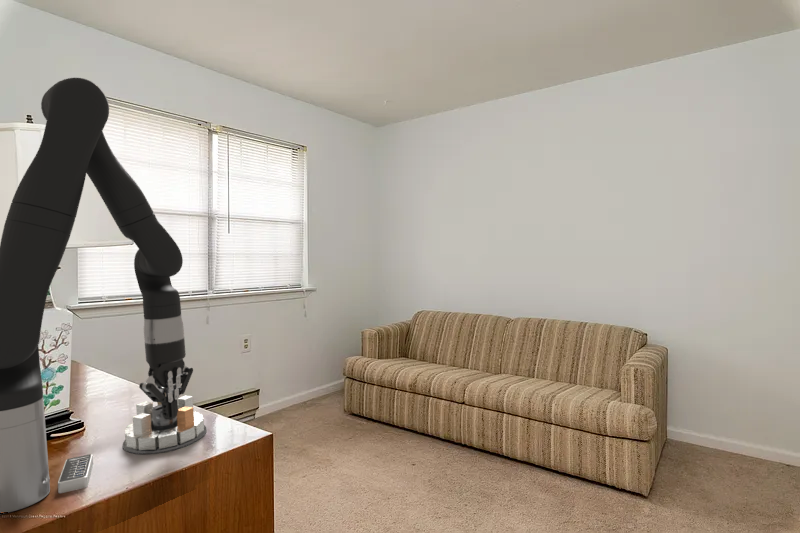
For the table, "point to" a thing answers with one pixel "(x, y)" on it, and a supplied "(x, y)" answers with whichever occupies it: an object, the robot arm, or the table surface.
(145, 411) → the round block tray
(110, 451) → the table surface
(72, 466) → the multiport hub
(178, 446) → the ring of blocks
